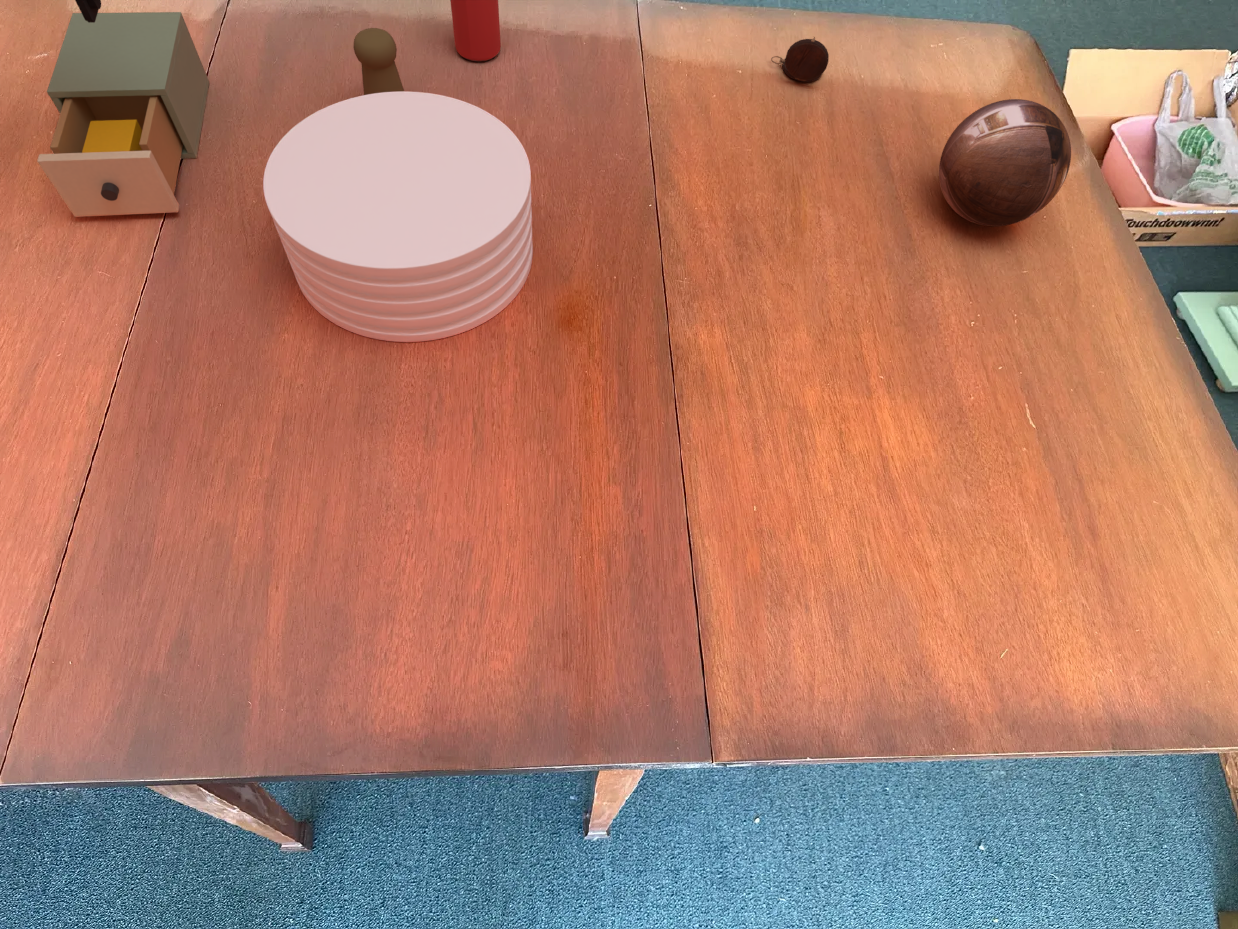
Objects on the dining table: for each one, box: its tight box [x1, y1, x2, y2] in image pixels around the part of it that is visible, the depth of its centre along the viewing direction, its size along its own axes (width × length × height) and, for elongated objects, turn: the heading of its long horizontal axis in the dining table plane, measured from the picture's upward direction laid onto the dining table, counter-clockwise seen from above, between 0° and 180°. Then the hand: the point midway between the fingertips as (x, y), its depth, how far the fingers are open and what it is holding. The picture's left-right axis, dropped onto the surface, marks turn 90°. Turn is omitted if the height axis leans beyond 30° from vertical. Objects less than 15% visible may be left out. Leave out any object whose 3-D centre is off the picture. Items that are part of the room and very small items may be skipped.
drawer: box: [36, 95, 183, 218], centre depth 92 cm, size 16×11×8 cm
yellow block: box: [82, 120, 142, 153], centre depth 91 cm, size 5×6×5 cm
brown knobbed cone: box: [353, 27, 405, 95], centre depth 101 cm, size 6×6×11 cm
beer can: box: [449, 0, 502, 62], centre depth 109 cm, size 7×7×12 cm
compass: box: [770, 36, 830, 83], centre depth 115 cm, size 8×8×7 cm
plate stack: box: [262, 90, 534, 343], centre depth 89 cm, size 28×28×12 cm
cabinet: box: [46, 11, 210, 160], centre depth 97 cm, size 16×13×10 cm
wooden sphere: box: [938, 98, 1072, 227], centre depth 99 cm, size 15×15×15 cm
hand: (41, 14), depth 77 cm, fingers open, 9 cm apart
